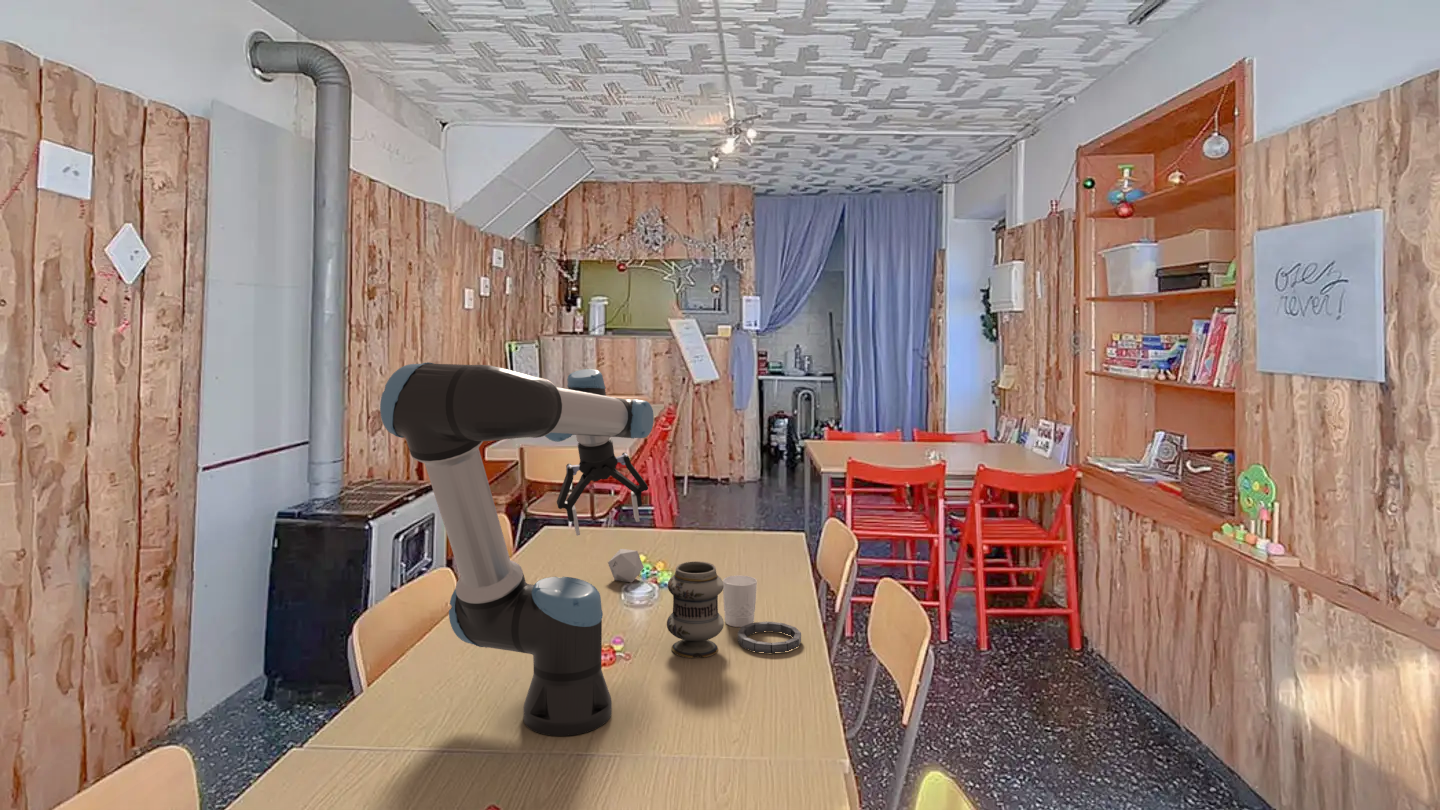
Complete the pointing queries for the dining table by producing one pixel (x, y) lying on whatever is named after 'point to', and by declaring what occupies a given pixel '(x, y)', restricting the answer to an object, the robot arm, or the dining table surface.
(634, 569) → the die
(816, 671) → the dining table surface
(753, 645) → the collar ring
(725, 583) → the white cup
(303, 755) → the dining table surface
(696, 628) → the apothecary jar
